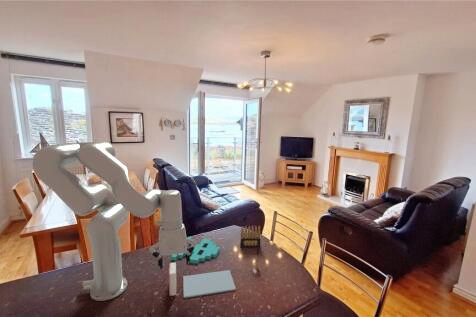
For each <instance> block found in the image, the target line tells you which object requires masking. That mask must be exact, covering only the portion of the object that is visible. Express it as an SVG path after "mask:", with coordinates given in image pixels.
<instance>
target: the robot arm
mask: <svg viewBox="0 0 476 317" xmlns="http://www.w3.org/2000/svg"><path fill="white" fill-rule="evenodd" d="M81 164H82V165H83V166H84V167H85V168H86V169H88V170H89V171H90V172H92V173H93V174H94V175H95V176H96V177H98V178H99V179H101V181H103V182H104V183H105V184H107V185H108V186H109V187H110V188H109V187H107V186H106V185H105V184H101V183H93V184H90V185H86V184H85V183H84V182H83V181H82V180H81V178H79V176H78V175H76V174H74V173H73V172H71V171H69V170H67V168H68V167H70V166H75V165H81ZM32 169H33V172H34V173H35V176H36V177H37V178H38V179H39V180H40V181H41V182H42V183H43V184H44V185H46V186H47V187H48V188H49V189H50V190H52V192H54V194H56V195H57V197H58V198H59V199H60V200H61V201H62V202H63V203H64V204H65V205H66V206H67V207H68V208H69V209H70V210H71V211H72V212H73V213H74V214H76V215H77V216H80V217H84V216H88V215H89V214H92V213H94V212H95V211H98V212H96V213H95V215H93V216H92V217H91V218H90V220H89V221H88V223H87V226H86V231H87V237H88V239H89V242H90V248H91V258H92V268H93V269H92V270H93V279H92V280H91V279H90V280H83V281H82V284H81V285H82V287H83V291H86V290H90V292H89V294H90V298H91V299H92V300H94V301H96V302H100V301H101V302H103V301H109V300H112V299H115V298H116V297H118V296H120V295H121V294H123V293H124V291H125V290H126V289H127V286H128V280H127V279H126V278H125V277H124V276H123V264H122V262H123V260H122V249H121V246H122V245H121V240H120V237H119V236H118V230H119V229H120V228H121V227H122V226H123V225H124V224H125V223H126V222H127V220H128V219H129V216H130V215H129V214H132V215H134V216H135V217H137V218H141V219H145V218H149V217H150V216H152V215H153V214H154V213H155V212H156V211H157V210H158V209H160V220H159V221H157V223H156V224H157V226H160V228H159V230H158V231H159V232H158V241H157V243H156V242H155V243H154V244H152V245H151V246H150V247H149V250H148V251H149V252H150V253H151V254H152V255H151V256H153V257H155V258H156V260H157V263H158V264H157V266H158V267H159V268H160V270H163V268H164V263H163V262H164V261H163V256H172V255H173V254H177V255H178V254H180V253H184V252H185V253H186V256H185V260H186V261H185V262H186V265H187V266H189V261H190V257H191V254H190V253H191V252H192V251H193V250H194V248H195V246H196V244H198V242H197V241H196V240H195V239H194V240H191V239H188V237H187V233H186V232H187V230H186V227H185V224H184V223H183V212H182V210H183V209H182V194H181V192H180V191H179V190H176V189H168V190H167V189H166V190H163V189H156V188H155V189H154V188H151V189H148V190H146V191H144V192H143V193H142V192H140V191H138V190H137V189H136V188H135V187H134V186H133V184H132V183H131V182H130V179H129V169H128V167H127V166H126V165H124V164H123V163H122V162H121V161H120V160H118V159H117V158H116V149H115V148H114V147H113V146H112V144H110V143H109V142H106V141H93V142H92V141H87V142H86V141H83V142H82V141H79V142H77V141H76V142H66V143H56V144H51V145H47V146H43V147H41V148H40V149H38V150H37V151H36V152H35V154H34V156H33V157H32ZM196 242H197V243H196ZM188 244H189V245H190V247H188ZM191 244H192V246H191ZM157 248H158V251H156V249H157Z"/></svg>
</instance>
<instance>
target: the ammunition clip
mask: <svg viewBox="0 0 476 317" xmlns="http://www.w3.org/2000/svg"><path fill="white" fill-rule="evenodd" d="M240 229H241V230H240V244H239V246H240V249H241V248H242V249H244V248H245V249H246V248H248V249H250V248H254V249H255V248H257V249H258V248H261V225H258V227H257V225H255V226H254V225H251V226H250V225H248V227H247V225H245V227H244V226H243V225H241V228H240Z"/></svg>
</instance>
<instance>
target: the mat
mask: <svg viewBox="0 0 476 317" xmlns="http://www.w3.org/2000/svg"><path fill="white" fill-rule="evenodd" d="M182 278H183V280H182V281H183V284H182V285H183V299H188V298H194V297H200V296H205V295H206V296H207V295H213V294H219V293H226V292H234V291H236V290H237V288H236V285H235V282H234V279H233V276H232V273H231V269H227V270H221V271H212V272H205V273H198V274H191V275H184V276H182Z"/></svg>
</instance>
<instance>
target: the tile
mask: <svg viewBox="0 0 476 317" xmlns="http://www.w3.org/2000/svg"><path fill="white" fill-rule="evenodd" d="M168 267H169V268H168V286H169V287H168V288H169V290H168V291H169V296H170V297H171V296H177V262H176V261H175V262H170V263H169V266H168Z"/></svg>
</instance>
